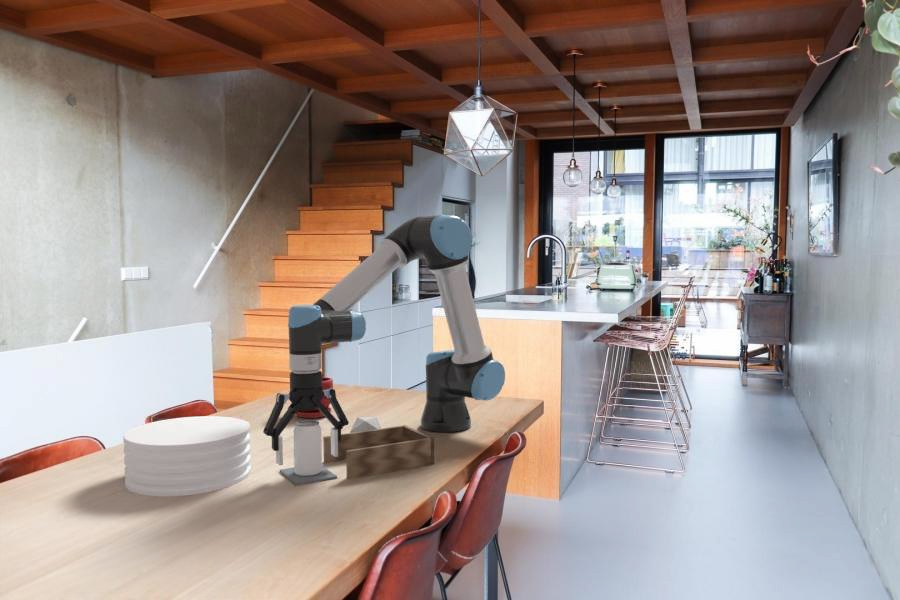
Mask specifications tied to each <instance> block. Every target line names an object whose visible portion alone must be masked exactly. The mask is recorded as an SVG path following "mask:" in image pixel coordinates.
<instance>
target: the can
mask: <svg viewBox="0 0 900 600" xmlns="http://www.w3.org/2000/svg"><path fill="white" fill-rule="evenodd" d="M294 425H295V426H294V429H293V459H294V461H293V466H294V470H295V473H296V475H298V476H315V475H318V474H320V473H321V471H322V466H323V455H322V454H323V451H322V449H323V448H322V447H323V443H322V442H323V441H322V440H323V438H322V428H321V426H320V421H318V420H310V419H307V420H306V419H305V420H300V421H297V422H295V423H294Z"/></svg>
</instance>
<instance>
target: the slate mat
mask: <svg viewBox="0 0 900 600" xmlns="http://www.w3.org/2000/svg"><path fill="white" fill-rule="evenodd" d="M279 473H280V474H282V475H283V476H284V477H285V478H286V479H288V481H290V482H291V483H292V484H293V485H295V486H299V485H300V486H301V485H305V484H310V483H311V484H312V483H317V482H318V483H319V482H322V481H328V480H334V479H338V476H337V474H335V473H333V472H332V471H331V470H329V469H328V468H326V467H325V466H324V465H322V471H321V473H320V474H318V475H315V476H298V475H296V473H295V470H294V467H288V468H282V469H279Z"/></svg>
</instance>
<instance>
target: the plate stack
mask: <svg viewBox="0 0 900 600" xmlns="http://www.w3.org/2000/svg"><path fill="white" fill-rule="evenodd" d="M250 426H251V425H250V423H249V422H248V421H246V420H243V419H241V418H237V417H231V416H230V417H229V416H221V415H220V416H217V415H215V416H214V415H207V416H206V415H205V416H203V415H202V416H200V415H199V416H198V415H197V416H184V417H176V418H168V419H162V420H157V421H153V422H148V423H147V422H146V423H145V424H141V425H137V426H135V427H133V428H131V429H128V430H127V431H126V432H124V433H123V438H122V439H123V443H124V446H123V453H124V458H123V459H124V460H123V461H124V466H125V467H124V475H125V479H124V486H125V488H126V489H127V490H129V491H130V492H133V493H135V494H139V495H142V496H151V497H182V496H192V495H199V494H205V493H210V492H211V493H212V492H215V491H219V490H223V489H226V488H229V487H232V486H235V485H237V484H239V483H241V482H243V481H245V480H246V479H248V478H249V476H250V475H251V474H252V473H251V472H252V466H251V445H250V442H251V434H250V431H251V427H250Z"/></svg>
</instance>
